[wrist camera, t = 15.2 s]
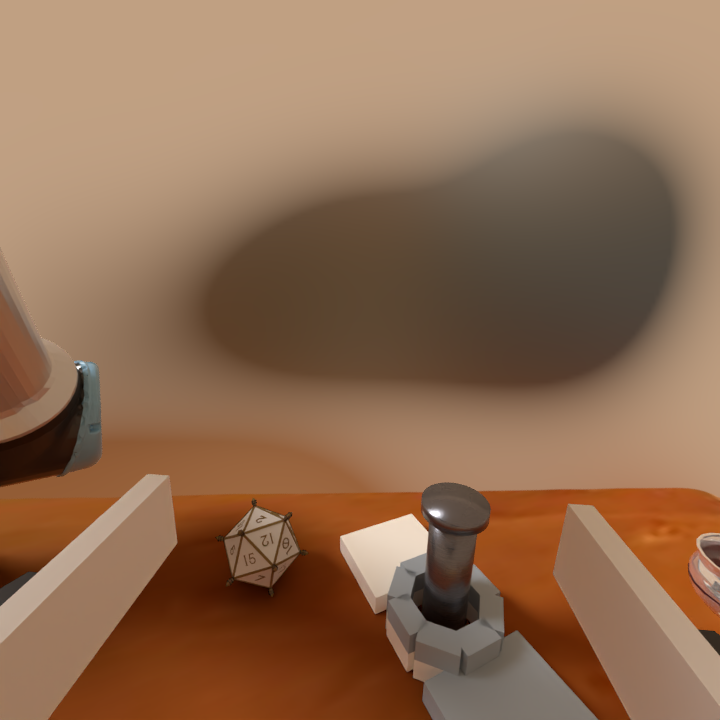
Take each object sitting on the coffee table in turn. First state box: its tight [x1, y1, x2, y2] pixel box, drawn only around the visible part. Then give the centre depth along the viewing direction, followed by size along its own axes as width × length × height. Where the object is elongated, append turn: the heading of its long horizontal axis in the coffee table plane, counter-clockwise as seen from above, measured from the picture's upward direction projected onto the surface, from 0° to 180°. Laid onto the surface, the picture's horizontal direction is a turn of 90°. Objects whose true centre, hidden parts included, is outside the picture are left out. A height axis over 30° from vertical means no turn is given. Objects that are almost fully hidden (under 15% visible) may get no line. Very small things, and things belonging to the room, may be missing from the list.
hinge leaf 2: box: [387, 553, 598, 720], centre depth 30 cm, size 18×10×4 cm, turn 25°
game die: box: [215, 498, 309, 597], centre depth 39 cm, size 9×8×10 cm
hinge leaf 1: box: [340, 514, 478, 682], centre depth 37 cm, size 18×10×2 cm, turn 25°
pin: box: [421, 483, 490, 631], centre depth 32 cm, size 6×6×14 cm
